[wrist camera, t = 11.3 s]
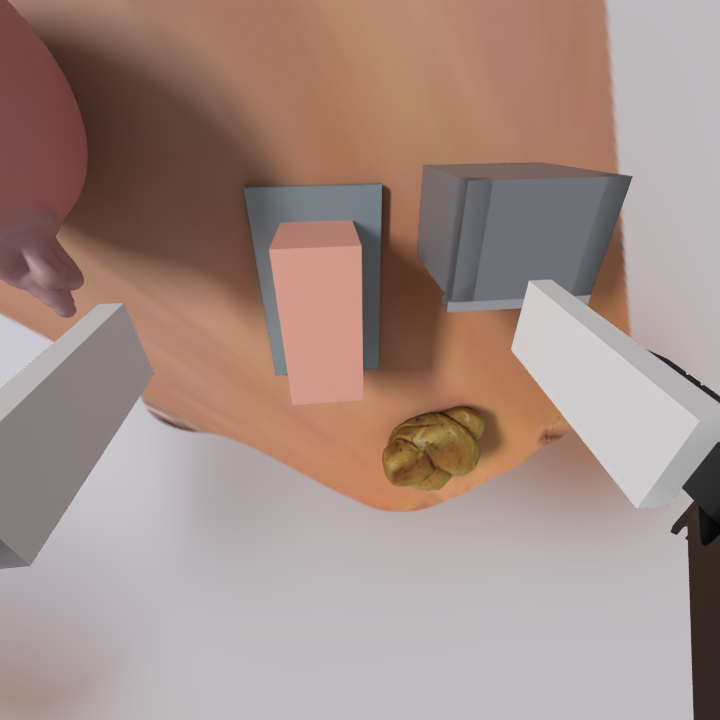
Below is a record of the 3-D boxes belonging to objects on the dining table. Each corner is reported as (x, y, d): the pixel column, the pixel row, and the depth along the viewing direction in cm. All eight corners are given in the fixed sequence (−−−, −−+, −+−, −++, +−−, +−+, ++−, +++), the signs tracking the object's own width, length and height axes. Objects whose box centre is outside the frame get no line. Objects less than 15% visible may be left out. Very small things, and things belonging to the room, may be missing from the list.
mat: (245, 187, 29) (243, 188, 28) (380, 183, 30) (381, 184, 29) (276, 371, 39) (275, 375, 38) (377, 364, 39) (378, 368, 39)
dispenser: (420, 165, 29) (464, 180, 20) (542, 162, 30) (635, 176, 21) (413, 265, 34) (447, 313, 25) (520, 260, 35) (589, 305, 26)
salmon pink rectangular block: (280, 222, 30) (268, 249, 23) (352, 219, 30) (361, 245, 24) (297, 354, 37) (292, 405, 30) (355, 351, 37) (363, 399, 31)
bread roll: (469, 385, 43) (497, 433, 36) (486, 438, 48) (514, 488, 41) (370, 424, 44) (379, 476, 38) (396, 470, 49) (408, 524, 43)
